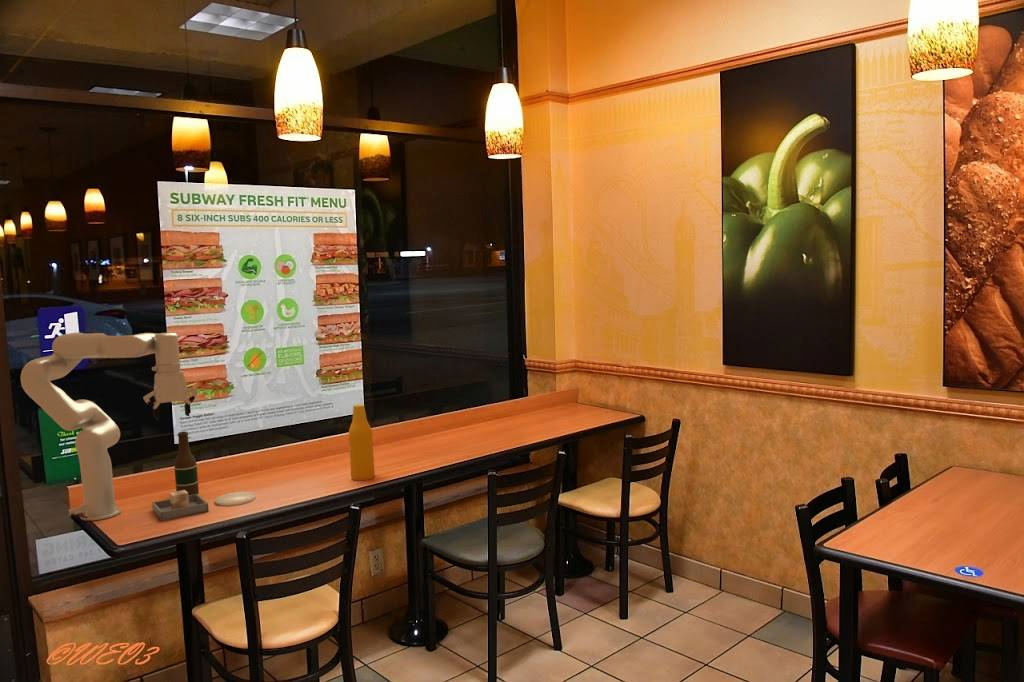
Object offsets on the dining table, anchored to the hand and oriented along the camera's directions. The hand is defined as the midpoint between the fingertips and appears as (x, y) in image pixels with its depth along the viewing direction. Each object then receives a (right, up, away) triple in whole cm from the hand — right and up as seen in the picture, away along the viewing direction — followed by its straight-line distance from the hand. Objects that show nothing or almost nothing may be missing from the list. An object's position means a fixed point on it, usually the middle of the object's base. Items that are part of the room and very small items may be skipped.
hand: (172, 417), depth 267 cm
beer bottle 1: (-5, -32, +23) cm, 40 cm away
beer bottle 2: (+59, -28, +38) cm, 75 cm away
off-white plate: (+17, -31, +14) cm, 38 cm away
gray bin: (+1, -33, +3) cm, 33 cm away
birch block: (+1, -33, +3) cm, 33 cm away
